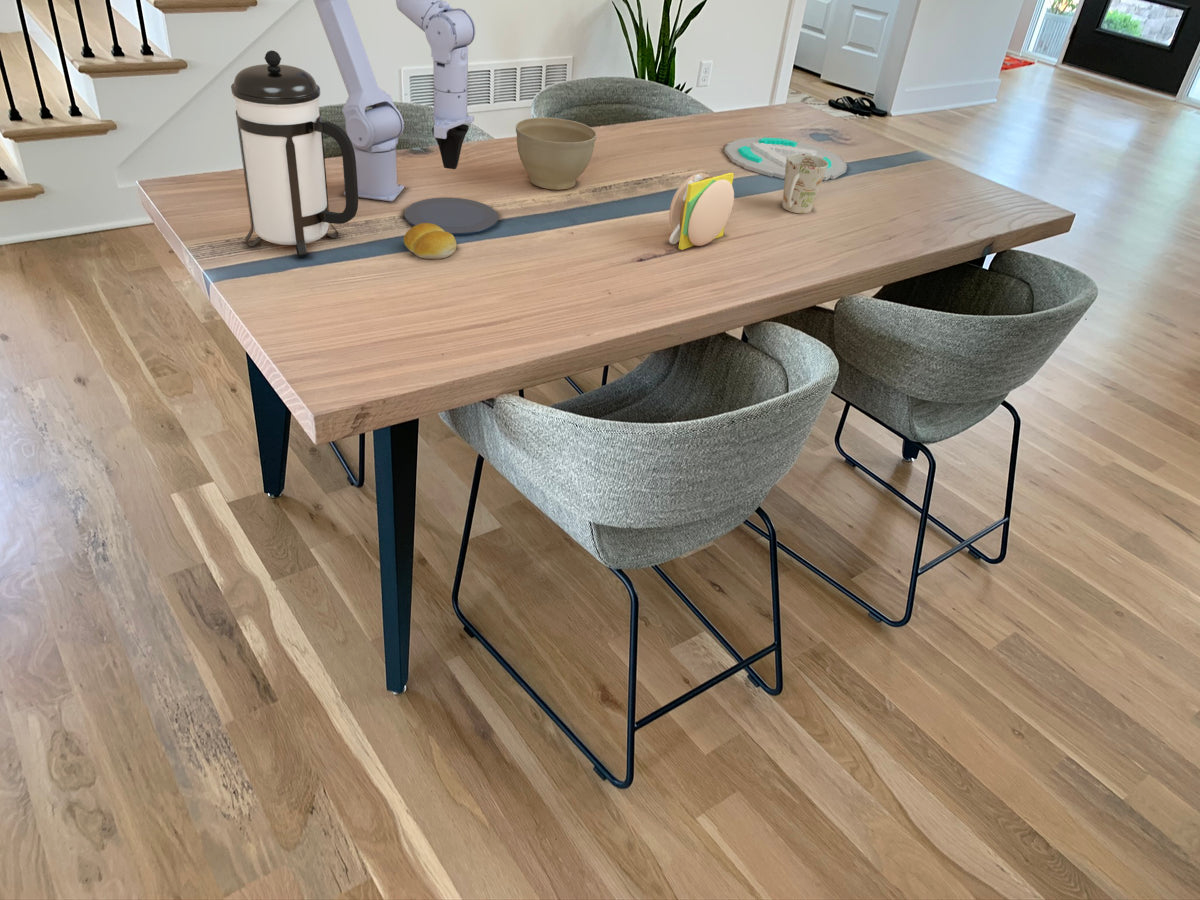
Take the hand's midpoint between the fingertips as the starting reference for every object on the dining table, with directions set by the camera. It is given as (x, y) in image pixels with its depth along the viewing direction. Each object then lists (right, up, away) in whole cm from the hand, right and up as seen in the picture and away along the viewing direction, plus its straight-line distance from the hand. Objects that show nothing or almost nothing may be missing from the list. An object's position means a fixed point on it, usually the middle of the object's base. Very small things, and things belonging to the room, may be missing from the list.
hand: (450, 167), depth 161 cm
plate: (-1, -8, +5) cm, 9 cm away
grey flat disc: (+71, +18, +52) cm, 89 cm away
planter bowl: (+17, +4, +25) cm, 30 cm away
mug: (+67, -2, +24) cm, 71 cm away
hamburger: (+44, -11, +7) cm, 46 cm away
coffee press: (-24, -16, -10) cm, 30 cm away
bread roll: (-2, -17, -7) cm, 18 cm away
